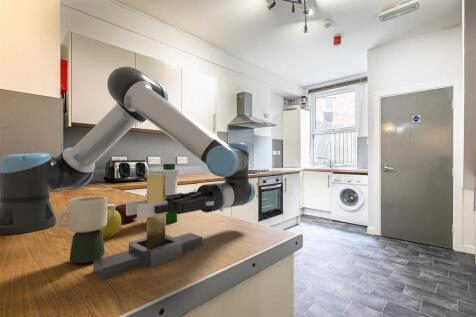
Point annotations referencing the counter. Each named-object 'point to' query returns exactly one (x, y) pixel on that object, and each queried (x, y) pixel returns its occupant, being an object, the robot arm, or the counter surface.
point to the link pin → (157, 223)
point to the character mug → (86, 226)
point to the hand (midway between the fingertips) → (132, 210)
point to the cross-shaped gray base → (145, 255)
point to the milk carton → (169, 185)
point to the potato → (124, 213)
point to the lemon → (112, 224)
